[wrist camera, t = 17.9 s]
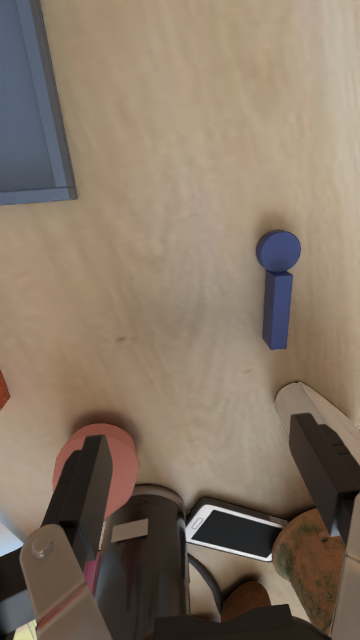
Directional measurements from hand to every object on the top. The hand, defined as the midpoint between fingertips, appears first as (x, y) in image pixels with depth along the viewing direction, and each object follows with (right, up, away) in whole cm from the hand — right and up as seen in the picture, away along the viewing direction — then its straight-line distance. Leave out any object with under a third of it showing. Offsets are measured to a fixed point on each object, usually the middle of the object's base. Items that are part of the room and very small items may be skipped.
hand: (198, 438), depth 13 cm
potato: (+10, -36, +32) cm, 49 cm away
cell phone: (+7, -22, +25) cm, 34 cm away
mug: (+16, -21, +25) cm, 36 cm away
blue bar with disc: (+7, +8, +13) cm, 16 cm away
